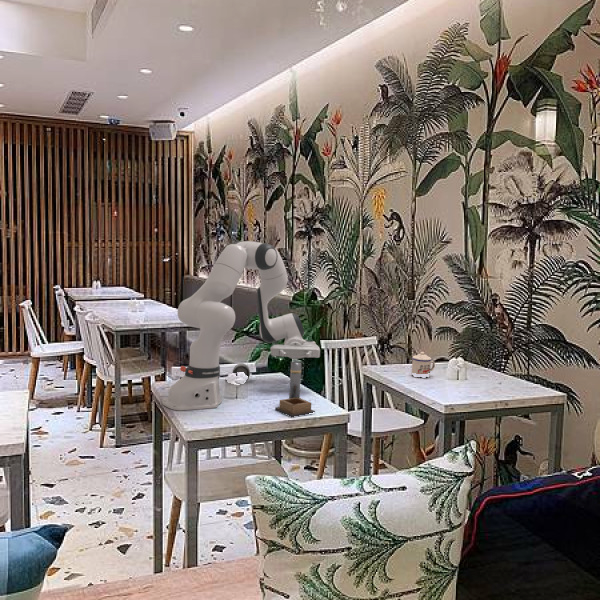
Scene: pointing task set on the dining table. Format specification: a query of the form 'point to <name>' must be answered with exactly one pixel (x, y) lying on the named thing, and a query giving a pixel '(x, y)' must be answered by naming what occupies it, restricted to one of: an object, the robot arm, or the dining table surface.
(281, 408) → the stove collar
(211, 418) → the dining table surface
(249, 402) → the dining table surface
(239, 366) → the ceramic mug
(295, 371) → the air tube
